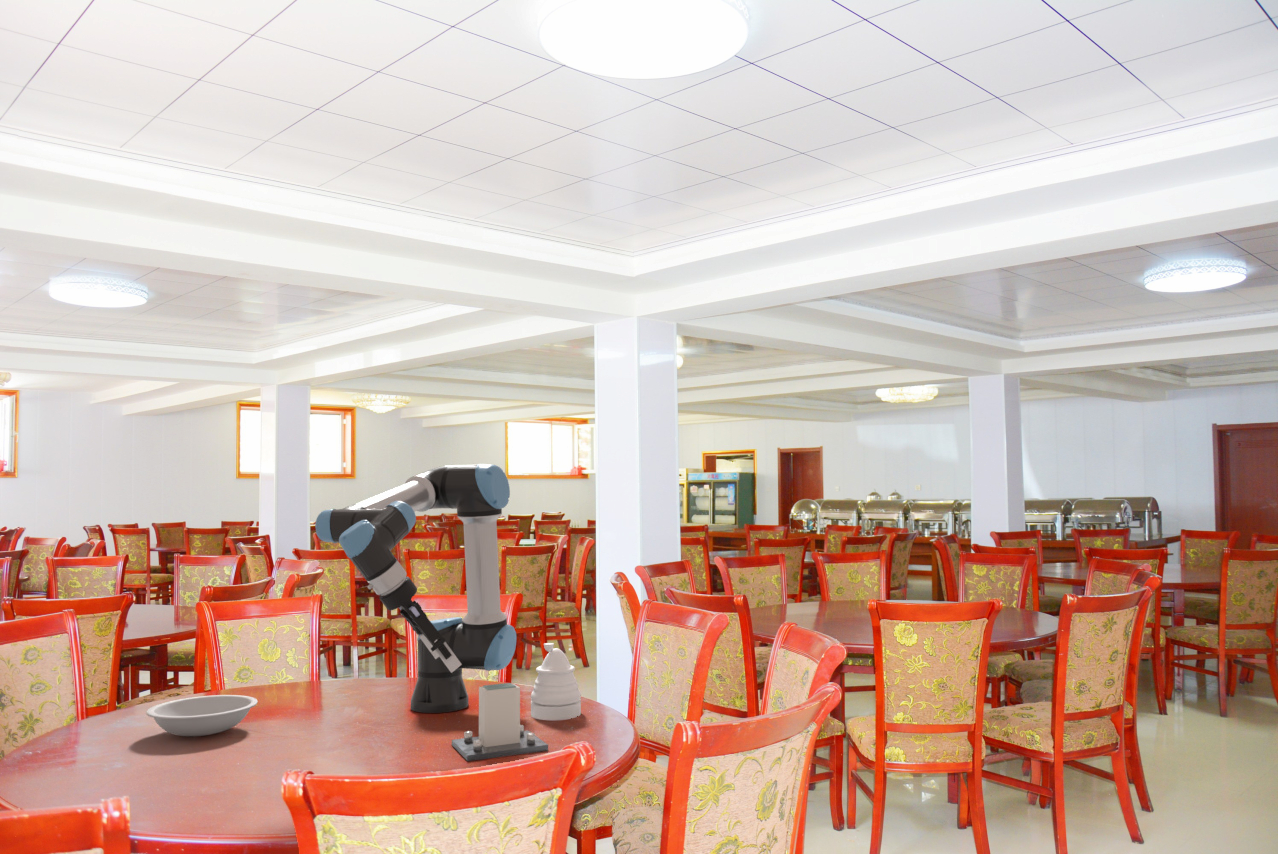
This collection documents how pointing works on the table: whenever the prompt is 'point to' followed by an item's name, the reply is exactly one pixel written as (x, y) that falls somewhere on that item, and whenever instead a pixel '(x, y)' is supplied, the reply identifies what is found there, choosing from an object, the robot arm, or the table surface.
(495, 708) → the block
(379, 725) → the table surface
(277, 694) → the table surface
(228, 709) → the soup bowl
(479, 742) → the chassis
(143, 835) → the table surface
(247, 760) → the table surface
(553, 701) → the honey pot
